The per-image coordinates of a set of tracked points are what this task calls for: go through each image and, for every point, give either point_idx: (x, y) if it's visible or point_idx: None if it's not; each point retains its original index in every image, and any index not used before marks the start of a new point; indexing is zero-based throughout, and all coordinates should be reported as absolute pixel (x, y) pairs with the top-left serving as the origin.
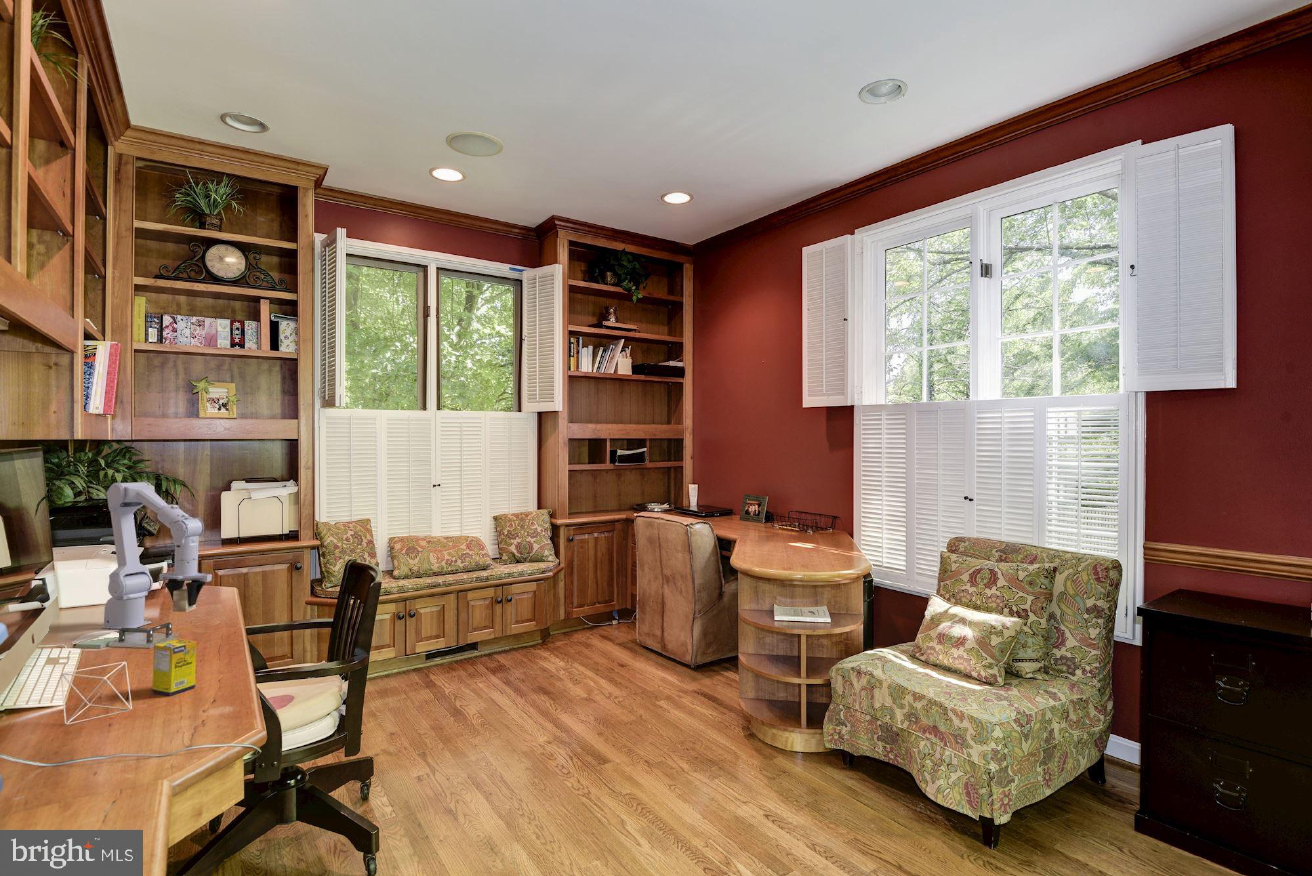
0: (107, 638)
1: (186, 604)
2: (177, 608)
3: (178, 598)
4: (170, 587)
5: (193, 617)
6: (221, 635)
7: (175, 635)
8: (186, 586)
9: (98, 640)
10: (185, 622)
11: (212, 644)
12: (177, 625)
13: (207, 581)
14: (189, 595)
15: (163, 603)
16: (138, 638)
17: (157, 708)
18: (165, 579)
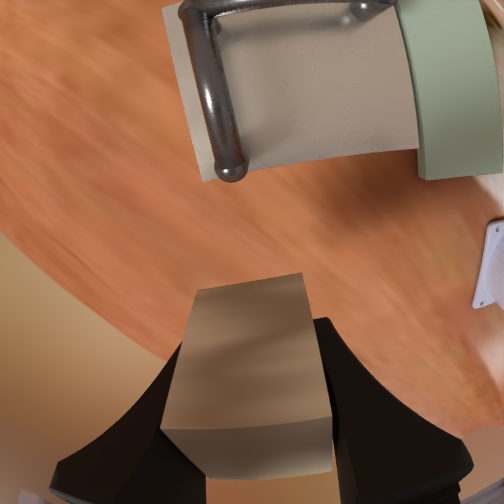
0: (453, 48)
1: (186, 329)
2: (265, 294)
3: (259, 358)
4: (379, 444)
5: (391, 386)
6: (93, 270)
7: (198, 163)
8: (127, 475)
9: (454, 18)
10: (379, 351)
11: (19, 172)
12: (380, 320)
13: (25, 492)
14: (155, 398)
15: (499, 399)
16: (318, 49)
17: None
18: (494, 487)
